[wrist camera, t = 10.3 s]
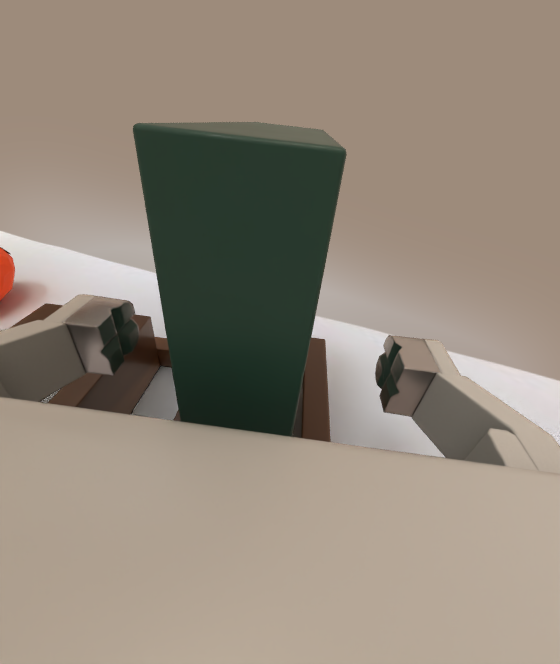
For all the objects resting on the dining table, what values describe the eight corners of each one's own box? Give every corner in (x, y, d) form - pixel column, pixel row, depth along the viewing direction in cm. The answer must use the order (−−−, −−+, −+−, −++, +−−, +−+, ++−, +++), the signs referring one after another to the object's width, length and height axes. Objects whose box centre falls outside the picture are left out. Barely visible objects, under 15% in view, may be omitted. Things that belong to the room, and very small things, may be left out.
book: (201, 555, 12) (129, 122, 4) (244, 387, 19) (254, 121, 11) (267, 565, 12) (347, 148, 3) (284, 392, 19) (324, 130, 11)
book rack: (-173, 580, 10) (-294, 533, 8) (78, 342, 21) (59, 293, 19) (315, 654, 10) (341, 627, 7) (314, 374, 21) (324, 327, 18)
